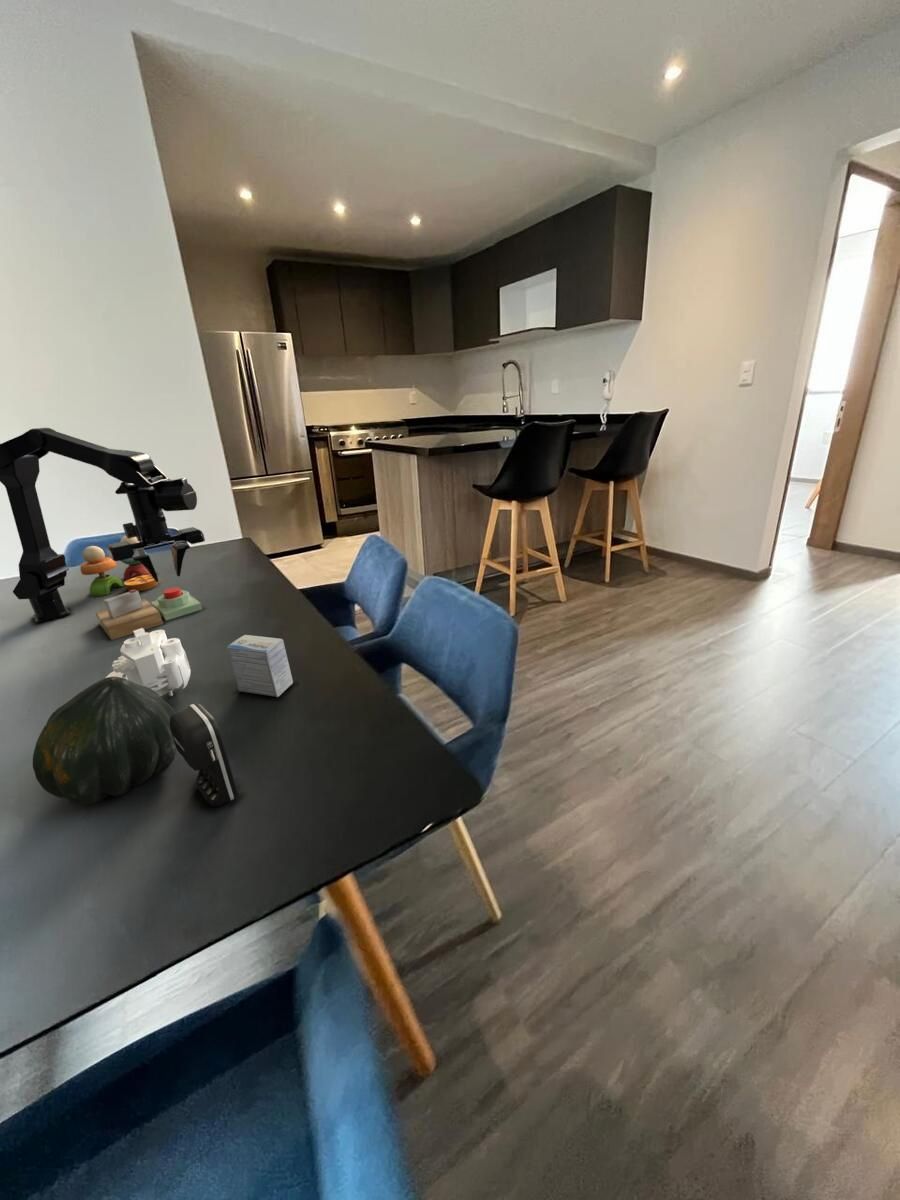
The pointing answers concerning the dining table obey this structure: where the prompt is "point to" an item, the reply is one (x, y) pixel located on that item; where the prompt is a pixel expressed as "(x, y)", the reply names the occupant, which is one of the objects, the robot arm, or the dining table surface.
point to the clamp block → (129, 621)
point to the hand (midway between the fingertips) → (167, 578)
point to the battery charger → (204, 753)
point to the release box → (176, 605)
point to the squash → (104, 742)
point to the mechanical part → (153, 662)
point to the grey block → (123, 603)
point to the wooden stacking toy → (100, 564)
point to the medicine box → (260, 665)
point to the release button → (172, 593)
